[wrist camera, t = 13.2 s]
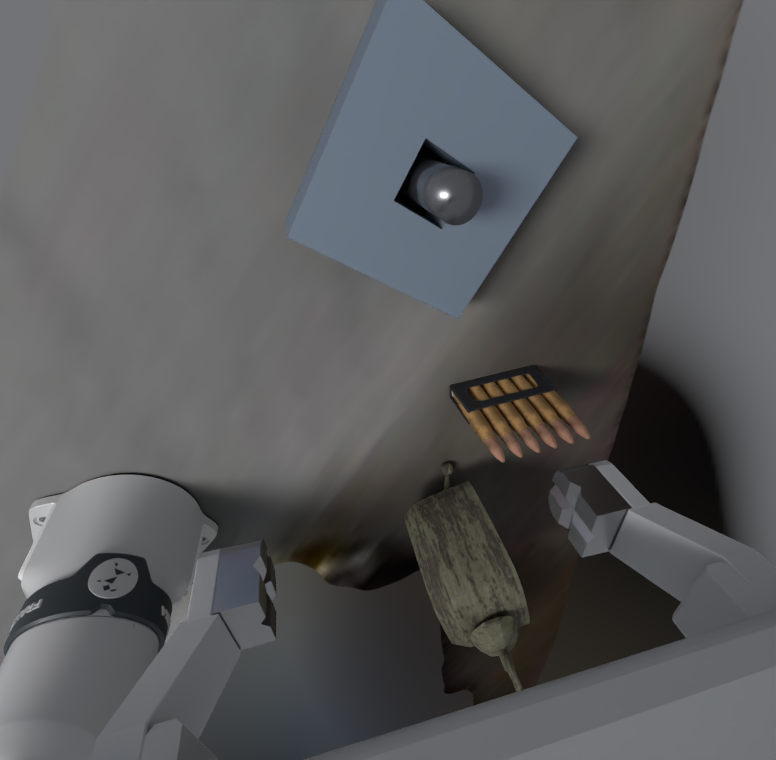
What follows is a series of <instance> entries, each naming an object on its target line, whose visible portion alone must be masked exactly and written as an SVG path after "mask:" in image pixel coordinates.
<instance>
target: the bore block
mask: <svg viewBox="0 0 776 760" xmlns="http://www.w3.org/2000/svg"><path fill="white" fill-rule="evenodd" d="M576 139H577V136H575V135H574V134H573V133H572V132H571V131H570V130H569V129H568V128H566V127H565V126H564V125H563V124H562V123H561V122H560V121H559V120H557V119H556V118H555V117H554V116H553V115H552V114H551V113H550V112H548V111H547V110H546V109H545V108H544V107H543V106H542V105H540V104H539V103H538V102H537V101H536V100H535V99H534V98H533V97H531V96H530V95H529V94H528V93H527V92H526V91H525V90H524V89H522V88H521V87H520V86H519V85H518V84H517V83H516V82H515V81H513V80H512V79H511V78H510V77H509V76H508V75H507V74H506V73H504V72H503V71H502V70H501V69H500V68H499V67H498V66H497V65H495V64H494V63H493V62H492V61H491V60H490V59H489V58H488V57H486V56H485V55H484V54H483V53H482V52H481V51H480V50H479V49H477V48H476V47H475V46H474V45H473V44H472V43H471V42H470V41H468V40H467V39H466V38H465V37H464V36H463V35H462V34H461V33H459V32H458V31H457V30H456V29H455V28H454V27H453V26H452V25H450V24H449V23H448V22H447V21H446V20H445V19H444V18H442V17H441V16H440V15H439V14H438V13H437V12H436V11H435V10H433V9H432V8H431V7H430V6H429V5H428V4H427V3H426V2H424V1H423V0H377V2H376V4H375V7H374V9H373V11H372V14H371V16H370V19H369V21H368V24H367V26H366V28H365V31H364V33H363V36H362V38H361V41H360V43H359V45H358V48H357V50H356V53H355V55H354V57H353V60H352V62H351V65H350V67H349V70H348V72H347V74H346V77H345V79H344V82H343V84H342V87H341V89H340V91H339V94H338V96H337V99H336V101H335V104H334V106H333V108H332V111H331V113H330V116H329V118H328V120H327V123H326V125H325V128H324V130H323V133H322V135H321V137H320V140H319V142H318V145H317V147H316V150H315V152H314V154H313V157H312V159H311V162H310V164H309V166H308V169H307V171H306V174H305V176H304V179H303V181H302V183H301V186H300V188H299V191H298V193H297V196H296V198H295V200H294V203H293V205H292V208H291V210H290V212H289V215H288V217H287V220H286V228H287V237H288V238H290V239H292V240H294V241H296V242H298V243H300V244H302V245H305V246H307V247H309V248H311V249H313V250H315V251H317V252H319V253H321V254H323V255H325V256H327V257H330V258H332V259H334V260H336V261H338V262H340V263H342V264H344V265H346V266H348V267H350V268H352V269H355V270H357V271H359V272H361V273H363V274H365V275H367V276H369V277H371V278H373V279H375V280H378V281H380V282H382V283H384V284H386V285H388V286H390V287H392V288H394V289H396V290H398V291H400V292H403V293H405V294H407V295H409V296H411V297H413V298H415V299H417V300H419V301H421V302H423V303H425V304H428V305H430V306H432V307H434V308H436V309H438V310H440V311H442V312H444V313H446V314H448V315H450V316H453V317H455V318H457V319H459V317H460V316H461V314H462V313H463V311H464V310H465V308H466V306H467V305H468V303H469V302H470V300H471V299H472V297H473V296H474V294H475V293H476V291H477V290H478V288H479V287H480V285H481V284H482V282H483V281H484V279H485V278H486V276H487V275H488V273H489V271H490V270H491V268H492V267H493V265H494V264H495V262H496V261H497V259H498V258H499V256H500V255H501V253H502V252H503V250H504V249H505V247H506V246H507V244H508V243H509V241H510V239H511V238H512V236H513V235H514V233H515V232H516V230H517V229H518V227H519V226H520V224H521V223H522V221H523V220H524V218H525V217H526V215H527V214H528V212H529V211H530V209H531V208H532V206H533V204H534V203H535V201H536V200H537V198H538V197H539V195H540V194H541V192H542V191H543V189H544V188H545V186H546V185H547V183H548V182H549V180H550V179H551V177H552V176H553V174H554V172H555V171H556V169H557V168H558V166H559V165H560V163H561V162H562V160H563V159H564V157H565V156H566V154H567V153H568V151H569V150H570V148H571V147H572V145H573V144H574V142H575V141H576ZM422 145H423V146H425V147H426V148H428V149H429V150H430V151H432V152H433V153H435V154H436V155H438V156H439V157H441V158H442V159H443V160H445V161H446V162H448V163H449V164H451V166H453V167H456V168H459V169H462V170H465V171H468V172H471V173H472V174H474V175H475V176H476V177H477V178H478V179H479V181H480V183H481V185H482V189H483V199H482V204H481V206H480V209H479V211H478V212H477V214H476V215H475V216H474V217H473V218H472V219H471V220H470V221H468V222H467V223H465V224H462V225H449V224H447V223H445V222H444V221H442V220H441V219H439V218H438V217H436V216H435V215H433V214H432V213H430V212H429V211H427V210H426V211H425V213H424V215H421V214H419V213H418V212H416V211H414V210H413V209H411V208H409V207H408V206H406V205H404V204H403V203H401V202H399V201H398V200H396V199H395V197H396V195H397V193H398V191H399V189H400V187H401V185H402V183H403V181H404V179H405V178H406V176H407V174H408V172H409V170H410V168H411V166H412V164H413V162H414V160H415V158H416V156H417V154H418V152H419V150H420V148H421V146H422Z"/></svg>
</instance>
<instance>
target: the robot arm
mask: <svg viewBox="0 0 776 760" xmlns="http://www.w3.org/2000/svg"><path fill="white" fill-rule="evenodd" d="M552 481H553V482H554V483H555V486H554V487H553V488H552V489H551V490H550V492H549V497H548V501H549V506H550V510H551V512H552V514H553V516H554V518H555V519H556V521H557V522H558V523H559V524H560V525H562V526H564V527H566V528H567V529H568V535H567V537H568V538H569V540H570V541H571V543H572V544H573V546H574V547H575V548H576V550H577V551H578V553H579V554H580V556H581V557H586V556H591V555H595V554H599V553H603V552H608V551H610V553H611V554H612V555H614V556H615V557H617V558H618V559H620V560H621V561H622V562H624V563H625V564H627V565H628V566H630V567H631V568H633V569H634V570H636V571H637V572H638V573H640V574H641V575H643V576H644V577H646V578H647V579H649V580H650V581H652V582H653V583H654V584H656V585H658V586H659V587H660V588H662V589H663V590H665V591H666V592H668V593H669V594H670V595H672V596H673V597H675V598H676V599H678V600H679V601H681V604H680V605H679V606H678V608H677V609H676V611H675V612H674V614H673V619H672V620H673V621H674V623H675V624H676V626H677V627H678V628H679V629H680V631H681V632H682V633H683V635H684V636H685V637H686V639H683V640H680V641H676V642H673V643H670V644H667V645H664V646H661V647H657V648H654V649H651V650H648V651H645V652H642V653H639V654H635V655H632V656H629V657H626V658H623V659H620V660H616V661H613V662H611V663H607V664H604V665H601V666H598V667H595V668H591V669H589V670H585V671H582V672H579V673H576V674H572V675H570V676H566V677H563V678H560V679H557V680H554V681H550V682H547V683H544V684H541V685H538V686H535V687H532V688H528V689H525V690H522V691H519V692H516V693H513V694H510V695H506V696H503V697H500V698H497V699H494V700H491V701H487V702H484V703H481V704H478V705H475V706H472V707H469V708H466V709H462V710H460V711H456V712H453V713H450V714H447V715H443V716H441V717H437V718H434V719H431V720H428V721H425V722H421V723H418V724H415V725H412V726H409V727H406V728H403V729H399V730H396V731H393V732H390V733H387V734H384V735H381V736H377V737H374V738H371V739H368V740H365V741H362V742H358V743H355V744H352V745H349V746H346V747H343V748H340V749H337V750H333V751H330V752H327V753H324V754H321V755H318V756H314V757H311V758H308V759H305V760H776V568H775V567H774V566H773V565H771V564H770V563H769V562H768V561H767V560H766V559H765V558H764V557H763V556H762V555H761V554H760V553H758V552H757V551H756V550H755V549H752V548H750V547H748V546H746V545H744V544H742V543H740V542H737V541H735V540H733V539H731V538H729V537H727V536H725V535H723V534H720V533H718V532H716V531H714V530H712V529H710V528H707V527H705V526H703V525H701V524H699V523H697V522H695V521H693V520H691V519H688V518H686V517H684V516H682V515H680V514H678V513H676V512H674V511H671V510H669V509H667V508H665V507H663V506H661V505H659V504H657V503H652V504H650V503H649V502H648V501H647V500H646V499H645V498H644V497H643V496H642V495H641V494H640V493H639V492H638V490H637V489H636V488H635V487H634V486H632V484H631V483H630V482H629V481H628V480H627V479H626V478H625V477H624V476H623V475H622V474H621V473H620V472H619V471H618V470H617V469H616V467H615V466H614V465H613V464H612V463H610V462H608V461H606V460H605V461H599V462H595V463H592V464H585V465H581V466H577V467H573V468H569V469H565V470H561V471H557V472H556V473H555V474H554V477H553V480H552ZM29 518H30V525H31V531H32V537H33V545H32V547H31V549H30V551H29V553H28V555H27V557H26V559H25V561H24V563H23V565H22V567H21V570H20V572H19V575H18V578H19V579H20V580H22V581H21V586H22V590H23V592H24V594H25V596H26V598H27V600H26V601H25V603H24V605H23V607H22V609H21V611H20V613H19V614H18V615H17V617H16V619H15V620H14V622H13V624H12V626H11V628H10V633H9V636H8V638H7V641H6V643H5V646H4V655H5V658H4V660H3V662H2V664H1V666H0V760H218V759H217V758H216V757H215V756H214V755H213V754H212V753H211V752H210V751H209V750H208V749H207V748H206V747H205V746H204V745H203V744H202V743H201V742H200V741H199V740H198V738H199V737H200V735H201V733H202V730H203V728H204V726H205V724H206V723H207V720H208V719H209V717H210V715H211V713H212V710H213V709H214V706H215V705H216V702H217V701H218V698H219V696H220V694H221V692H222V690H223V688H224V686H225V684H226V682H227V680H228V678H229V676H230V674H231V672H232V670H233V668H234V666H235V664H236V662H237V660H238V658H239V656H240V654H241V651H240V650H244V649H247V648H250V647H254V646H257V645H261V644H264V643H267V642H271V641H274V640H276V610H275V608H274V605H273V603H272V600H273V599H274V597H275V595H276V578H275V570H274V566H273V562H272V559H271V557H269V556H267V546H266V544H265V542H264V540H259V541H255V542H250V543H245V544H240V545H236V546H231V547H226V548H221V549H216V550H212V551H207V552H203V551H204V550H205V549H206V548H207V546H208V545H209V544H210V543H211V542H212V541H213V540H214V538H215V537H216V536H217V532H218V525H217V524H216V523H215V522H214V521H212V520H211V519H209V518H208V517H206V516H205V515H204V514H203V513H202V511H201V509H200V507H199V505H198V504H197V502H196V501H195V499H194V498H193V497H192V496H191V495H190V494H189V493H187V492H186V491H185V490H183V489H182V488H180V487H178V486H176V485H174V484H172V483H170V482H167V481H164V480H161V479H158V478H154V477H149V476H142V475H112V476H106V477H101V478H97V479H93V480H90V481H87V482H85V483H83V484H80V485H78V486H77V487H75V488H73V489H71V490H70V491H68V492H66V493H63V494H60V495H55V496H49V497H45V498H41V499H38V500H36V501H34V502H33V503H32V505H31V508H30V510H29ZM202 552H203V553H202ZM198 557H199V558H198ZM194 575H195V576H194ZM193 579H194V581H193ZM192 583H193V587H192ZM191 587H192V593H191V599H190V605H189V610H188V616H187V621H186V622H183V623H180V624H179V625H178V627H177V628H176V630H175V631H174V632H173V634H172V635H171V636H170V638H169V639H168V641H167V642H166V643H165V639H166V636H167V635H168V631H169V628H170V621H171V620H170V617H171V613H172V607H173V608H174V607H177V606H178V605H179V603H180V601H181V598H182V597H183V596H185V595H186V594H187V593H188V591H189V590H190V589H191ZM164 643H165V645H164Z"/></svg>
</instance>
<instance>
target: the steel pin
mask: <svg viewBox="0 0 776 760" xmlns="http://www.w3.org/2000/svg"><path fill="white" fill-rule="evenodd" d="M399 190H400V191H401V193H402V194H404V195H405V196H407V197H408V198H410V199H411V200H412V201H414V202H415V203H417V204H418V205H420V206H421V207H423V208H424V209H426V210H427V211H429V212H430V213H432V214H433V215H435V216H436V217H438V218H439V219H441V220H442V221H444V222H445V223H447V224H449V225H462V224H465V223H467V222H468V221H470V220H471V219H472V218H473V217H474V216H475V215H476V214H477V212H478V211H479V209H480V206H481V204H482V199H483V189H482V185H481V183H480V181H479V179H478V178H477V177H476V176H475V175H474V174H472V173H471V172H468V171H465V170H462V169H459V168H456V167H453V166H450V165H447V164H444V163H441V162H438V161H435V160H432V159H429V158H426V157H423V156H420V155H417V156H416V158H415V160H414V162H413V164H412V166H411V168H410V170H409V172H408V174H407V176H406V178H405V179H404V181H403V183H402V185H401V187H400V189H399Z"/></svg>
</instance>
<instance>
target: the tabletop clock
mask: <svg viewBox="0 0 776 760" xmlns="http://www.w3.org/2000/svg"><path fill="white" fill-rule="evenodd" d="M452 471H453V467H452V465H451V464H450V463H444V464H442V465H441V472H442V473H443V474H444V475H445V482H444V491H442V492H439V493H437V494H434V495H432V496H429V497H427V498H424V499H421V500H419V501H417V502H415V503H414V504H413V505H412V506H411V508H410V509H409V510H408V512H407V513H406V514H405V516H404V519H405V523H406V526H407V529H408V533H409V536H410V539H411V542H412V546H413V549H414V552H415V555H416V558H417V561H418V564H419V568H420V571H421V574H422V577H423V580H424V583H425V586H426V589H427V592H428V595H429V597H430V600H431V603H432V606H433V608H434V610H435V613H436V615H437V617H438V619H439V621H440V623H441V625H442V627H443V629H444V631H445V633H446V634H447V636H448V638H449V639H450V641H451V643H452V644H456V645H461V646H467V647H472V646H476V647H477V648H478V649H479V650H480V651H482V652H484V653H486V654H488V655H490V656H499V657H500V659H501V662H502V664H503V667H504V669H505V671H507V672H508V673H509V675H510V677H511V679H512V682H513V684H514V687H515V689H516V692H519V691H522V690H523V688H522V686H521V683H520V681H519V679H518V677H517V675H516V672H515V670H514V669H515V665H514V663H513V661H512V658H511V656H510V654H509V651H510V650H511V649H512V648H513V647H514V646H515V644H516V641H517V638H518V628H519V627H521V626H524V625H526V624H529V623H530V618H529V612H528V607H527V603H526V599H525V596H524V592H523V589H522V585H521V582H520V580H519V577H518V574H517V572H516V570H515V568H514V565H513V563H512V561H511V559H510V557H509V555H508V553H507V551H506V549H505V547H504V545H503V543H502V541H501V539H500V537H499V535H498V533H497V531H496V529H495V527H494V525H493V523H492V521H491V519H490V517H489V516H488V514H487V512H486V510H485V508H484V506H483V504H482V503H481V501H480V499H479V497H478V495H477V493H476V492H475V490H474V488H473V486H472V485H471V483H470V482H469V481H466V482H464V483H462V484H459V485H457V486H454V487H452V488H450V480H449V475H450V474H451V473H452Z"/></svg>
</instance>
